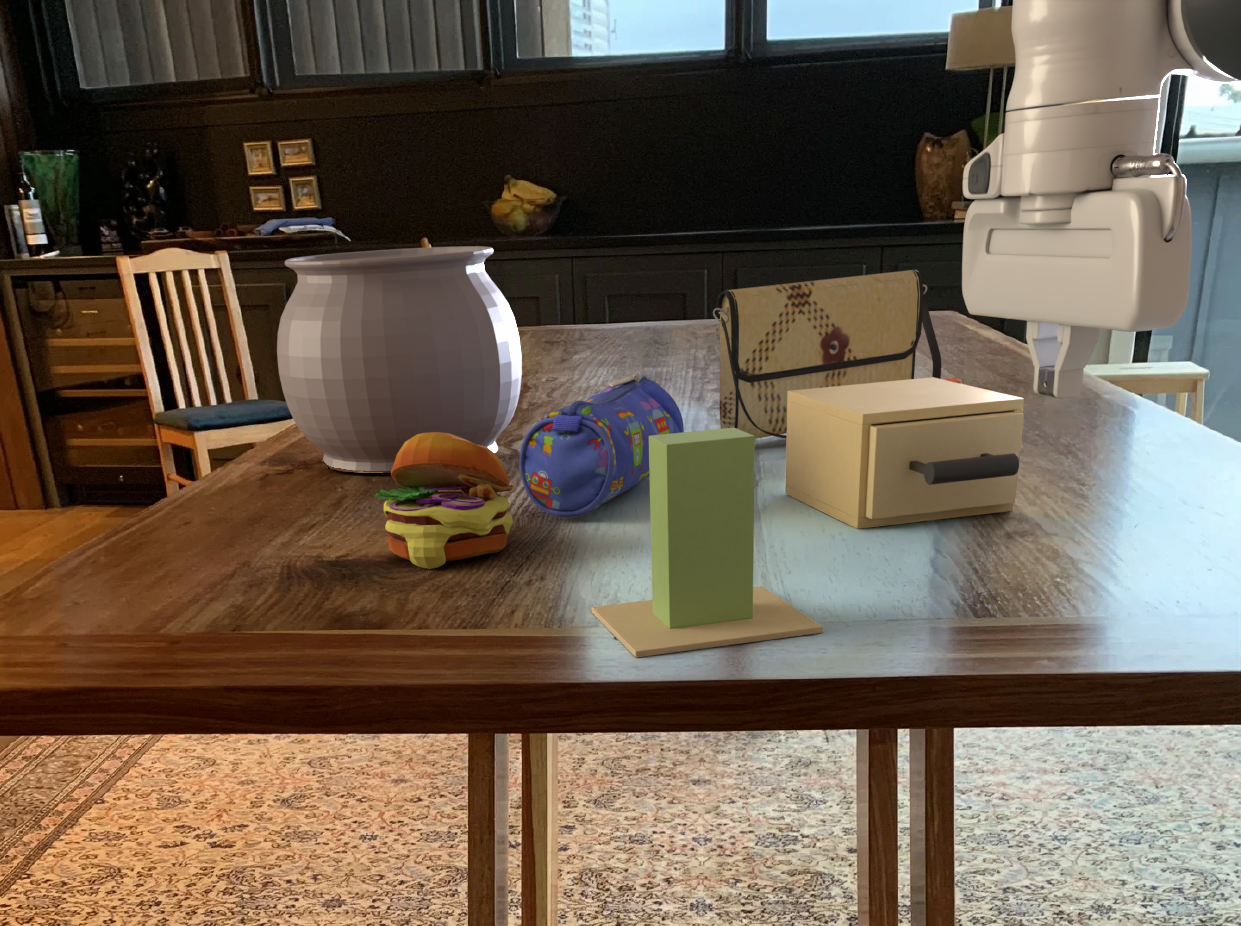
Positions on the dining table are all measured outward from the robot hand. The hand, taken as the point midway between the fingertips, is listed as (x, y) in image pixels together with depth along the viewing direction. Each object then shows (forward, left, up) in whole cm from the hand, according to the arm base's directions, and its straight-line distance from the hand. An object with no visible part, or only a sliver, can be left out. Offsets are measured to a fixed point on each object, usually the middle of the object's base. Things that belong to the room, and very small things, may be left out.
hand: (1056, 395), depth 87 cm
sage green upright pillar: (+27, +4, -11) cm, 29 cm away
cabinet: (+1, -21, -11) cm, 24 cm away
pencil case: (+22, -35, -11) cm, 43 cm away
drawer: (+1, -17, -10) cm, 20 cm away
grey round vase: (+36, -63, -11) cm, 73 cm away
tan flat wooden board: (+27, +4, -11) cm, 29 cm away
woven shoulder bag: (-9, -55, -11) cm, 57 cm away
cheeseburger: (+39, -21, -11) cm, 45 cm away
